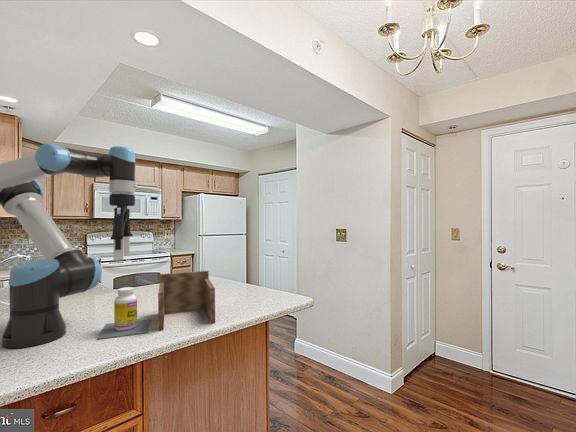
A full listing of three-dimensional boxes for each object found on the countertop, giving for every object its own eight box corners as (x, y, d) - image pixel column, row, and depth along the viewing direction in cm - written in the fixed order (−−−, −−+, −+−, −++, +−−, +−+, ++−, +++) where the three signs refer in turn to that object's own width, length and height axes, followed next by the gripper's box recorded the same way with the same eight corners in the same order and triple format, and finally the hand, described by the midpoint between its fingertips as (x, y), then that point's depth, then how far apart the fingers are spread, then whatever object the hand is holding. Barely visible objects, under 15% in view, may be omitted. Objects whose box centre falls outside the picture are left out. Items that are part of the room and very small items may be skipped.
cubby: (158, 330, 99) (158, 284, 99) (160, 313, 117) (159, 274, 117) (215, 323, 106) (214, 279, 106) (208, 307, 124) (208, 270, 124)
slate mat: (96, 340, 92) (97, 338, 92) (106, 325, 105) (106, 323, 105) (148, 333, 97) (148, 331, 97) (150, 319, 110) (150, 318, 110)
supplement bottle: (127, 332, 97) (127, 291, 97) (109, 330, 98) (109, 290, 98) (141, 324, 104) (141, 286, 104) (124, 323, 105) (124, 286, 105)
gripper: (129, 191, 92) (129, 262, 92) (139, 196, 115) (138, 253, 115) (100, 190, 89) (100, 263, 89) (116, 196, 113) (116, 253, 113)
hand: (122, 257), depth 102 cm, fingers open, 13 cm apart
